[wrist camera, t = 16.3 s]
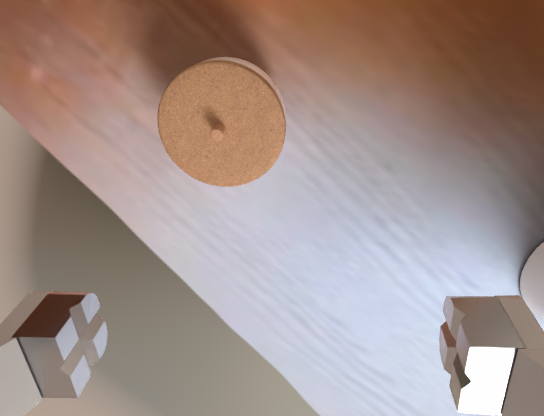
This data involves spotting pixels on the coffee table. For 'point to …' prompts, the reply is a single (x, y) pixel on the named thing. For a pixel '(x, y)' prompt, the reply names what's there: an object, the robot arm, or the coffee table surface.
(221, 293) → the coffee table surface
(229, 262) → the coffee table surface
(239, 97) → the lidded jar
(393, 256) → the coffee table surface
